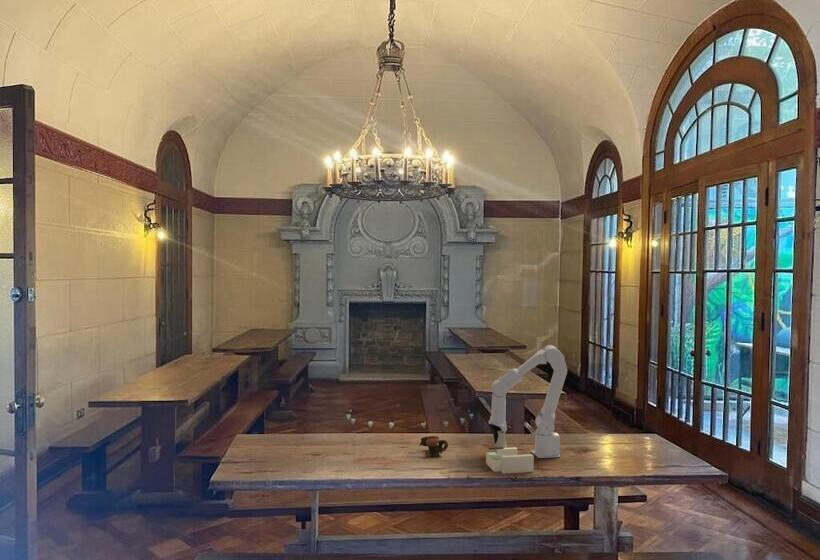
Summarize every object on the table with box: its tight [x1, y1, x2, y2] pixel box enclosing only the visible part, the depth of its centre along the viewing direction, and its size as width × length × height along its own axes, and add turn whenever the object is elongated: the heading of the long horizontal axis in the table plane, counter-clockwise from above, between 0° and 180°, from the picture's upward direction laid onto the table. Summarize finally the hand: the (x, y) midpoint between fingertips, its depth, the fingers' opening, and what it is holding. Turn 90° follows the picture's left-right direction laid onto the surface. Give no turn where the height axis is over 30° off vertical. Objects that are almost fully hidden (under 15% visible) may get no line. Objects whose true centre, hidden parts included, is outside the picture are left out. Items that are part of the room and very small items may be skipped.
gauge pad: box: [488, 446, 519, 457], centre depth 226 cm, size 12×2×6 cm, turn 102°
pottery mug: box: [418, 435, 449, 458], centre depth 234 cm, size 12×10×8 cm
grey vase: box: [492, 431, 508, 454], centre depth 232 cm, size 7×7×10 cm
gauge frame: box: [485, 450, 535, 475], centre depth 220 cm, size 14×12×6 cm
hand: (497, 443), depth 236 cm, fingers closed
